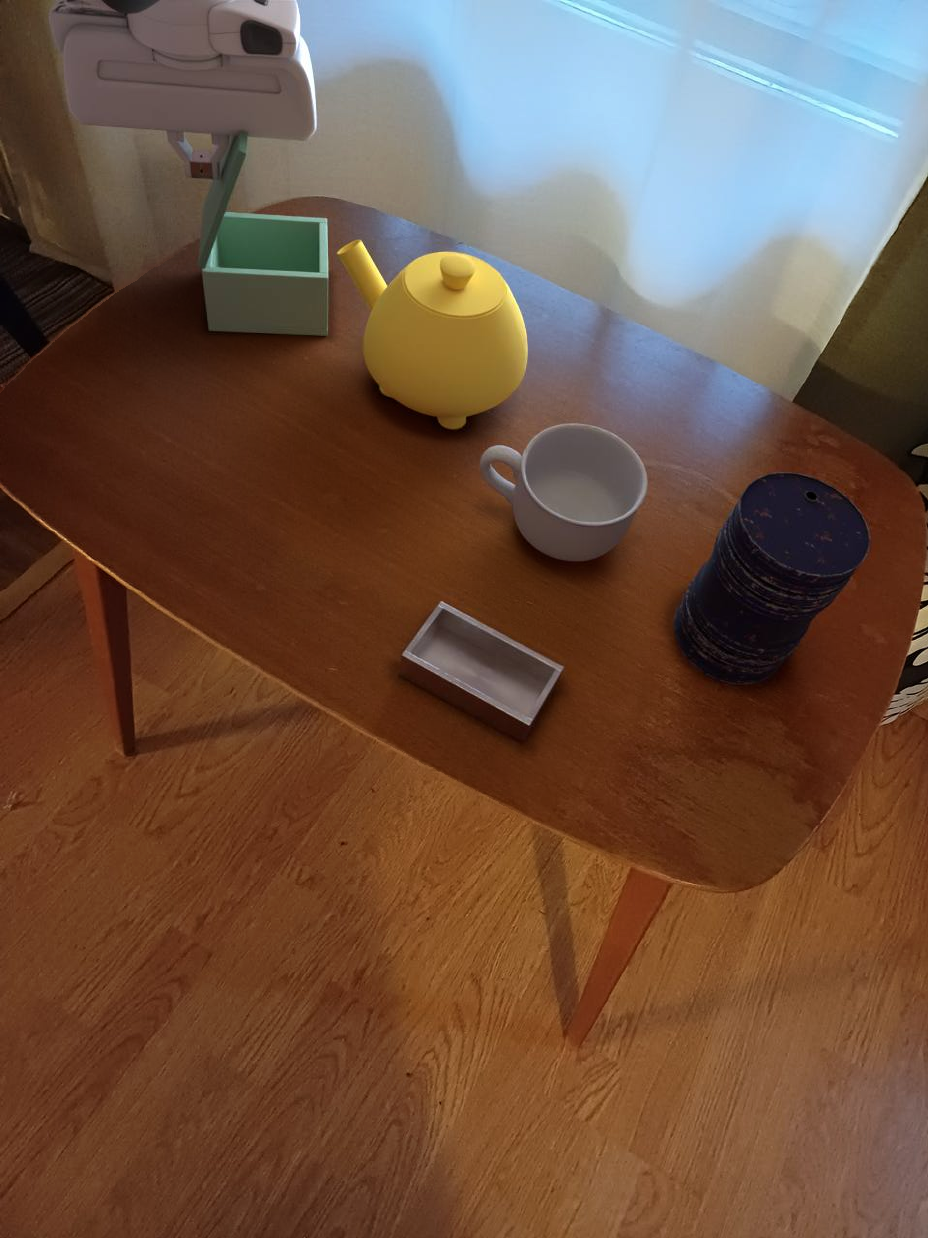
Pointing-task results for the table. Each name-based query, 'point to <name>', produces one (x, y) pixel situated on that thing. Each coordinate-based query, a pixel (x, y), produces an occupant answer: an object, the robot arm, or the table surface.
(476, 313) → the teapot
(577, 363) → the table surface
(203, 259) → the lunchbox lid
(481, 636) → the open storage tray
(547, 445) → the teacup
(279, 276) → the lunchbox
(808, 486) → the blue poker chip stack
